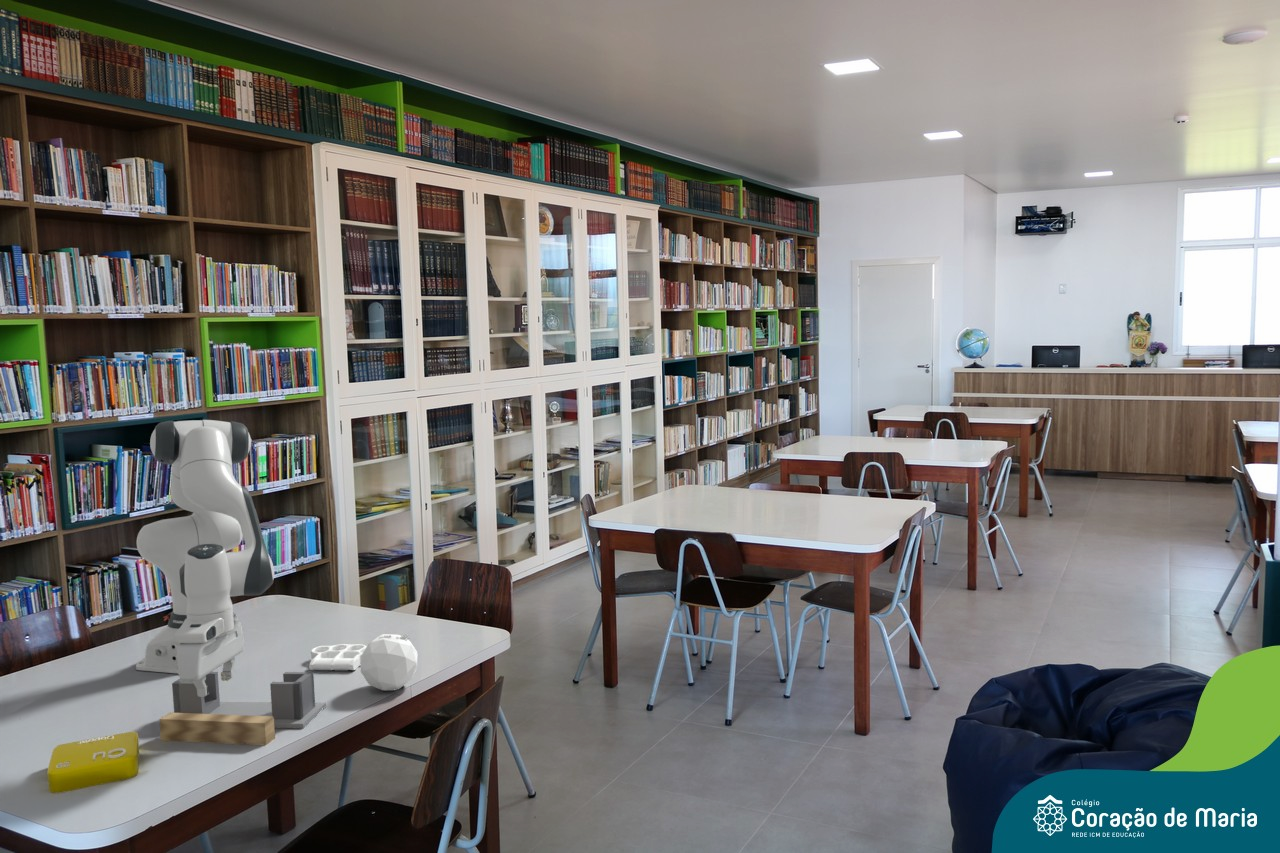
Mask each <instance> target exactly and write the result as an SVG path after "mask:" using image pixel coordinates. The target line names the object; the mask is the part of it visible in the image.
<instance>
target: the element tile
mask: <svg viewBox="0 0 1280 853" xmlns="http://www.w3.org/2000/svg"><path fill="white" fill-rule="evenodd" d="M138 734H139V733H138V732H135V731H126V732H123V733H118V734H117V733H115V734H110V735H105V736H99V737H96V738H94V737H93V738H90V739H83V740H78V741H72V742H67V743H61V744H58V745H56V747H55V748H53V749H52V752H51V757H50V760H49V764H48V768H47V772H46V774H47V785H48V786H47V787H48V792H49V793H51V794H59V793H60V794H61V793H65V792H70V791H74V790H75V791H76V790H80V789H85V788H90V787H95V786H101V785H104V784H110V783H114V782H119V781H124V780H129V779H132V778H134V777H136V776H137V775H138V773H139V763H140V762H139V761H140V744H139V735H138Z"/></svg>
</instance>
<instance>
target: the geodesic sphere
mask: <svg viewBox="0 0 1280 853" xmlns="http://www.w3.org/2000/svg"><path fill="white" fill-rule="evenodd" d="M409 639H410V637H409V634H405V635H400V634H391V633H390V634H387V633H386V634H385V633H382V634H380V635H379V636H377V637H376V638H374V639H373V640H372V641H370V642H369V643H367V645H366V646H367V647H366V649H365V651H364V652H363V654H362V656H361V666H360V673H361V674H362V676H363V678H364V680H365V681H366V682H367V684H368V686H369V685H370V686H372V687H373V688H376V689H378V690H380V689H381V691H395V690H394V689H398V688H399V689H401V688H402V687H404V686H405V685H406V684H407V683H409V682H410V681H411V680H412V679H413V677H414V675H415V673H416V671H417V669H418V657H419V656H418V653H419V652H418V651H417V649H416V648H415V646H414V645H413V644H412V641H410V640H409ZM399 689H398V690H399Z"/></svg>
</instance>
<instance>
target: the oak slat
mask: <svg viewBox="0 0 1280 853" xmlns="http://www.w3.org/2000/svg"><path fill="white" fill-rule="evenodd" d="M158 720H159V730H160V732H159V733H160V741H163V742H166V741H167V742H185V743H209V744H210V743H211V744H212V743H214V744H232V745H251V746H253V745H254V746H255V745H256V746H267V745H269V744H270V743H271V742H272V741H273V740H275V739H276V733H275V728H274V717H272V716H247V715H221V714H195V713H174V712H168V713H167V714H165V715H163V716H161V718H159V719H158Z"/></svg>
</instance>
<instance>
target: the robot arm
mask: <svg viewBox="0 0 1280 853" xmlns="http://www.w3.org/2000/svg"><path fill="white" fill-rule="evenodd" d="M149 441H150V442H149V445H150V447H149V448H150V450H151V452H152V453H151V454H152V455H153V458H154V460H156V461H157V462H158V463H160V464H164V465H170V466H172V468H171V480H170V481H171V483H170V497H171V501H172V502H173V503H174V504H175V505H176V506H177V507H178V508H179V509H183V510H184V511H188V512H191V513H192V514H190V515H187V516H181V517H180V516H179V517H173V518H166V519H165V518H164V519H160V520H157V521H154V522H151V523H147V524H145V525H143V526H142V527H141V529H140V530H139V532H138V533H137V537H136V549H137V552H138V553H139V554H140V556H141V557H142V559H144V560H145V561H146V562H148V563H151V564H153V565H154V566H155V567H157V568H158V569H159V570H160V571H161V572H162V573H163V575H164V576H165V577H166V580H167V581H168V583H169V588H170V594H171V600H172V611H171V612H169V613H167V615H165V616H163V618H164V619H163V621H164V622H166V621H167V620H168V622H167V626H165V627H164V628H163V629H162V630H161V631H160V632H159V633H158V634H156V635H155V636H154V637H153V638H152V639H150V640H149V641H148V643H147V644H146V648H145V654H144V658H142V659H140V660H139V661H138V662H137V663H136V665H135V670H136V671H143V672H144V671H145V672H157V673H168V674H169V673H170V674H178V676H179V679H180V678H181V680H182V681H193V684H194V685H195V687H196V688H197V695H198V696H199V697H205V696H206V695H208V694H209V686H206V683H205V681H204V680H206V675H207V674H209V673H210V672H214V671H215V670H216V669H218V668H219V667H221V666H222V665H223V666H222V671H221V672H220V680H221V681H223V682H224V681H230V680H231V679H232V678H233V669H234V666H235V663H236V662H235V659H236V658H235V657H237V656H239V655H240V654H241V653H243V651H244V648H245V638H244V631H243V627H242V623H241V621H240V620H239V618H238V615H237V614H236V613H235V612H234V608H233V606H234V605H233V601H232V599H231V597H238V596H240V597H241V596H261V595H263V594H264V593H265V592H267V591H268V590H269V588H270V587H271V586H272V585H273V584H274V578H275V568H274V564H273V560H272V558H271V556H270V554H269V551H268V550H267V546H266V544H265V538H264V535H263V532H262V529H261V525H260V521H259V517H258V513H257V510H256V508H255V504H254V501H253V497H252V494H251V492H250V491H249V489H248V488H247V487H246V486H244V485H241V484H240V483H238V481H237V480H236V478H235V476H234V471H233V465H234V464H235V465H237V464H239V463H243V462H244V461H245V460H246V459H247V457H248V454H249V452H250V451H251V447H252V438H251V435H250V432H249V429H248V427H247V426H246V425H245V424H244V423H242V422H237V421H232V420H230V422H229V421H222V420H213V419H202V420H201V419H200V420H195V419H194V420H193V419H192V420H177V421H174V420H167V421H165V420H164V421H161V422H159V423H157V425H155V426H154V430H153V431H152V433H151V436H150V440H149ZM243 540H244V544H245V545H244V546H245V548H244V549H243V550H239V551H238V550H237V551H232V550H233V549H236V548H238V547H239V545H240V544H241V542H242V541H243ZM230 550H231V551H230ZM228 551H229V552H228Z"/></svg>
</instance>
